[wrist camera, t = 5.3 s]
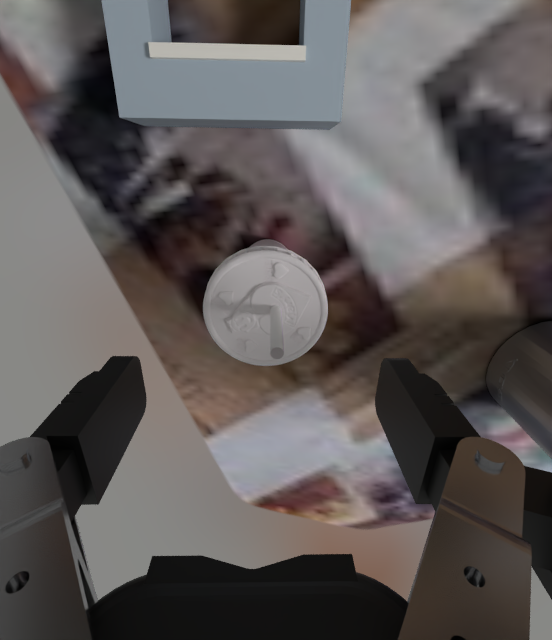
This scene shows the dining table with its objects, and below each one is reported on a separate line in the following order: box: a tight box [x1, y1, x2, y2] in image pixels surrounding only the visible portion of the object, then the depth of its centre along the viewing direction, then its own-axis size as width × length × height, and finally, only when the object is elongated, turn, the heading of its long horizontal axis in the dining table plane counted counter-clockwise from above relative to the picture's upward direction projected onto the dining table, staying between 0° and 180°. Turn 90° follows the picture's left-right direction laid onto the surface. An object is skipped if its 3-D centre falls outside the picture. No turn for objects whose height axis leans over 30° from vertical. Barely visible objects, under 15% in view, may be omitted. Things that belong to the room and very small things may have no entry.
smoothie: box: [203, 239, 328, 366], centre depth 19 cm, size 6×6×14 cm
